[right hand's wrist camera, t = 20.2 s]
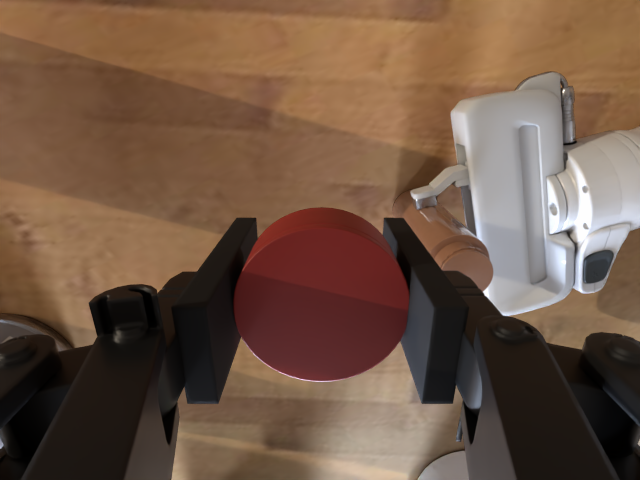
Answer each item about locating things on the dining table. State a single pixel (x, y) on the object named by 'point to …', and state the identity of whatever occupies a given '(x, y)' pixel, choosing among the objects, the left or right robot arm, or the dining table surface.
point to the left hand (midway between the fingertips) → (418, 230)
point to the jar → (447, 240)
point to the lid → (321, 296)
